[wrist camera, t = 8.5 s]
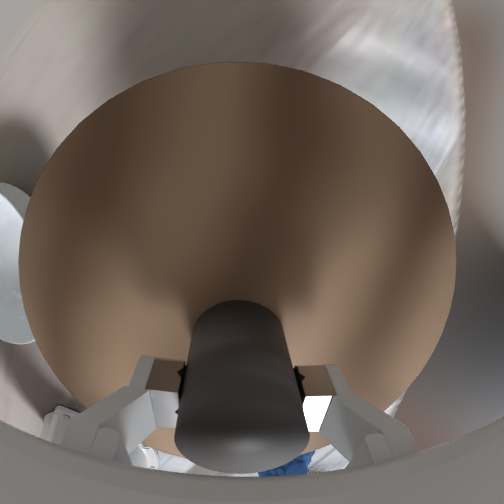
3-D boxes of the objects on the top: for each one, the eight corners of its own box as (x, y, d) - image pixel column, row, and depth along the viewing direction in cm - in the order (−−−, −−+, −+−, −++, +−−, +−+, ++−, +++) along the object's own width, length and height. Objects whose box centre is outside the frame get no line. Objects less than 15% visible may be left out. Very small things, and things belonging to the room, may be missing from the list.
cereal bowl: (100, 310, 29) (75, 348, 23) (6, 314, 29) (-21, 342, 23) (61, 155, 23) (18, 162, 17) (-30, 192, 23) (-68, 206, 17)
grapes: (282, 447, 40) (293, 509, 29) (245, 440, 39) (249, 506, 27) (327, 406, 37) (349, 476, 26) (287, 396, 35) (303, 473, 24)
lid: (474, 128, 10) (576, 139, 4) (373, 440, 16) (399, 506, 11) (24, 88, 8) (-78, 77, 3) (81, 428, 15) (55, 497, 9)
